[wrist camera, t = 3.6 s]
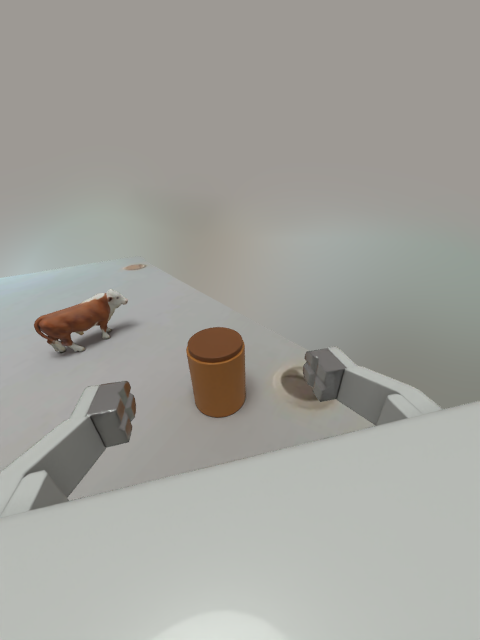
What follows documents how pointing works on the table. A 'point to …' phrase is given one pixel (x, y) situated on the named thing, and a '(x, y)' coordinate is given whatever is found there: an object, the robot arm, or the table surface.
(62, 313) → the bull figurine
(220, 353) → the brown lidded canister
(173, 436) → the table surface
